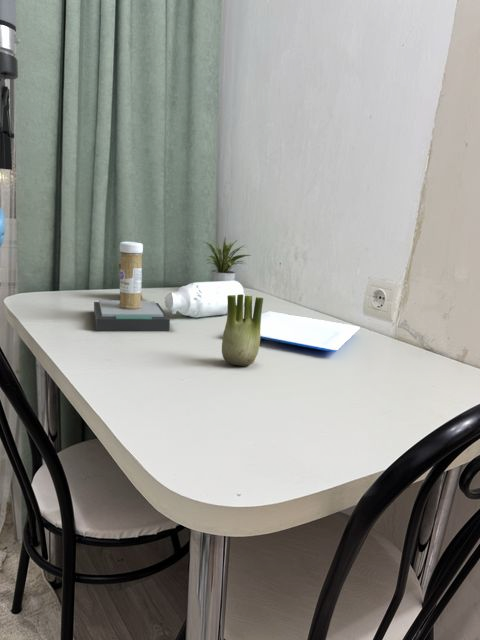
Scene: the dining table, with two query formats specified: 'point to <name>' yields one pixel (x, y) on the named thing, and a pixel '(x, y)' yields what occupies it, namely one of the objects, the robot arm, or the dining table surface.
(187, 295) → the white bottle
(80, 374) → the dining table surface
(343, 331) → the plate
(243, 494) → the dining table surface
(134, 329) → the scale
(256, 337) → the fennel bulb
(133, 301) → the sprinkles bottle
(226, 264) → the house plant
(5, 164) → the robot arm
